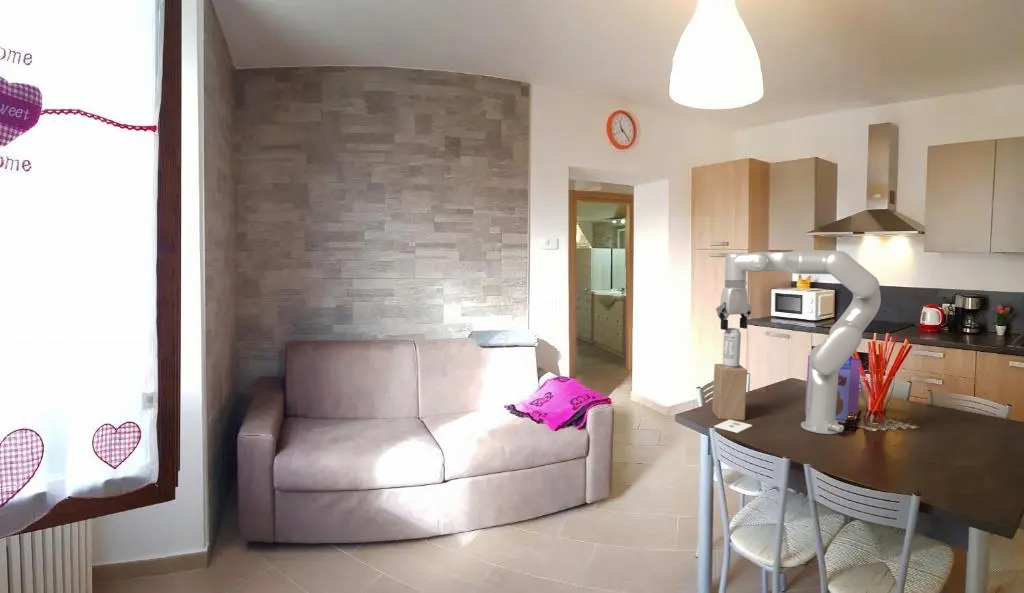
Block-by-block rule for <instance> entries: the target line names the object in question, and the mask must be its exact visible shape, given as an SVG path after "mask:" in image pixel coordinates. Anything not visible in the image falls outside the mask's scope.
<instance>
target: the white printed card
mask: <svg viewBox="0 0 1024 593" xmlns="http://www.w3.org/2000/svg"><path fill="white" fill-rule="evenodd" d="M713 427H714V428H717V429H721V430H725V431H729V432H733V433H737V434H738V433H740V432H743V431H745V430H747V429H749V428H751V427H753V425H752V424H750V423H747V422H746V423H745V422H741V421H739V420H730V419H729V420H725V421H723V422H721V423H718V424H716V425H714V426H713Z"/></svg>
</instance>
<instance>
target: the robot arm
mask: <svg viewBox="0 0 1024 593" xmlns="http://www.w3.org/2000/svg"><path fill="white" fill-rule="evenodd" d="M724 266H725V270H724V288H722V292H721V296H720V305H719V306H717V307H716V308H715V311H716V313H717V316H718V318H719V320H720V330H723V331H726V330H728V328H729V320H728V318H729V316H730V315H732V316H733V315H740V317H739V329H744V330H747V329H748V319H749V318H750V315H751V314H752V310H753V307H754V306H752V305H751V304H749V300H748V292H747V287H746V286H747V284H748V282H747V272H751V273H760V272H761V273H762V272H780V273H781V272H782V273H783V272H785V273H791V274H798V275H831V276H832V277H834V278H835V279H836V280H837V281H838V282H839V283H840V284H841V285H842V286H844V287H845V288H846V289H848V291H850V292H851V294H852V300H851V303H850V304H849V305H848V307H847V308H846V309H845V311H844V312H843V313H842V314H841V316H840V317H839V318H838V319H837V321H835V323H834V324H833V325H832V326H831V327H830V329H829V334H828V336H827V337H826V338H825V340H823V342H822V343H820V344H817V345H815V346H814V347H813V348H811V351H810V353H809V355H808V356H809V380H808V395H807V410H806V415H805V421H802V422H801V423H800V427H801V428H802V430H803V429H804V430H805V431H808V432H811V433H817V434H822V435H835V434H836V435H837V434H839V433H842V432H843V431H844V429H845V426H844V425H842V424H840V423H839V420H838V419H835V418H836V404H837V390H838V372H839V369H840V368H841V367H842V366H843V365H844V364H845V363H846V361H847V360H848V359H849V358H852V356H853V354H855V352H856V351H857V349H858V348H859V347H860V345H861V343H862V340H863V332H865V330H866V329H867V327H869V324H870V323H871V322H872V320H873V319H874V318H875V316H876V315H877V313H878V311H879V309H880V306H881V302H882V299H881V298H882V297H881V294H882V293H881V290H880V281H879V280H878V278H877V277H876V276H875V275H874V274H872V273H871V272H870V271H869V270H868V269H866V268H865V267H864V266H863V265H861V264H860V263H859V262H858V261H856V260H855V259H854V258H853V257H852V256H850V254H849V253H847V252H846V251H843V250H793V251H792V250H791V251H772V252H769V251H767V252H766V251H756V252H755V251H754V252H749V253H747V252H746V253H744V252H728V253H726V255H725V265H724Z"/></svg>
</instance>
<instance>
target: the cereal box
mask: <svg viewBox="0 0 1024 593" xmlns="http://www.w3.org/2000/svg"><path fill="white" fill-rule="evenodd" d="M809 356H810V355H808V356H807V372H806V385H805V388H806V389H805V402H804V403H805V405H804V415H805V416H806V410H807V395H808V380H809ZM858 364H859V366H858ZM860 365H861V367H860ZM857 367H858V368H859V370H860V369H861V368H862V360H861V359H860V358H857V357H850V358H849V359H848V360H847V361H846V363H845V364H844V365H843V366H842V367H841V368H840V369H839V372H838V390H837V404H836V418H835V419H836V420H838V421H839V420H842V421H847V420H846V418H847V417H848V414H849V413H851V412H854V413H857V414H858V411H859V410H858V409H859V395H860V383H861V382H860V381H861V372H860V373H859V371H858V368H857ZM861 370H862V369H861ZM861 370H860V371H861Z"/></svg>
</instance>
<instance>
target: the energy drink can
mask: <svg viewBox="0 0 1024 593" xmlns="http://www.w3.org/2000/svg"><path fill="white" fill-rule="evenodd" d="M741 337H742V333H741V331H740V328H736V327H728V330H724V332H723V351H722V353H723V354H722V355H723V356H722V364H723V365H724V367H727V368H738V366H739V365H740V358H741Z"/></svg>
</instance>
